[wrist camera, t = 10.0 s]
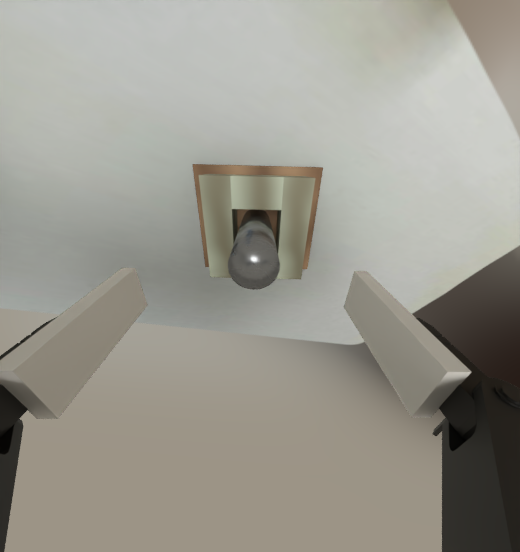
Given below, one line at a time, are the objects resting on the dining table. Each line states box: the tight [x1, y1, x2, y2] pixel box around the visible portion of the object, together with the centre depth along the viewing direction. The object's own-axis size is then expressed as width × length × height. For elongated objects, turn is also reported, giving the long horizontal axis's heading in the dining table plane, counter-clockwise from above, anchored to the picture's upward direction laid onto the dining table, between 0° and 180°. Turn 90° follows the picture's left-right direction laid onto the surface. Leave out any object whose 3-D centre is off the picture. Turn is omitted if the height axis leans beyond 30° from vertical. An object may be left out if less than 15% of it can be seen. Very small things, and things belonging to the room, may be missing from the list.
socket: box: [193, 164, 323, 279], centre depth 26 cm, size 16×14×6 cm
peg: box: [228, 209, 280, 289], centre depth 21 cm, size 4×4×14 cm
